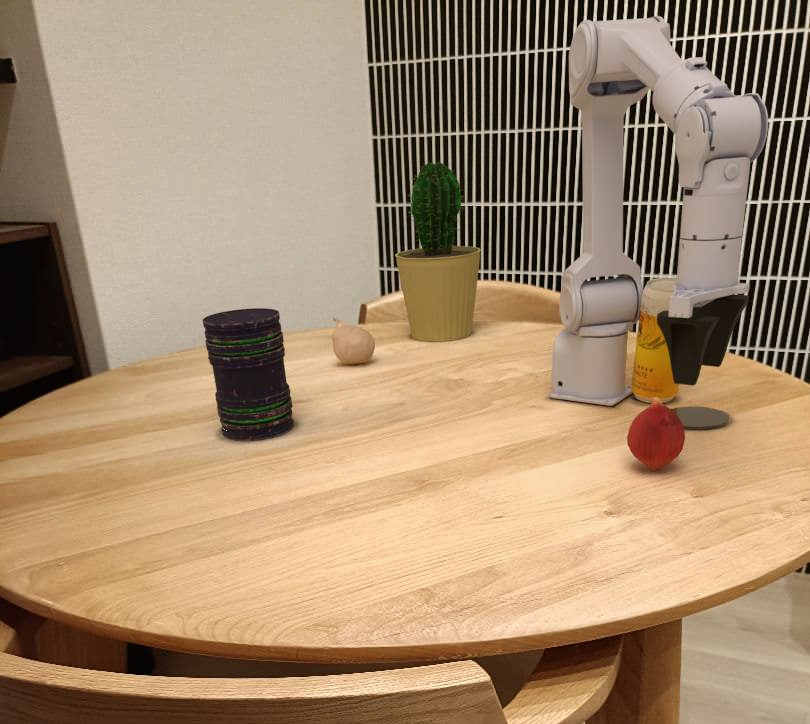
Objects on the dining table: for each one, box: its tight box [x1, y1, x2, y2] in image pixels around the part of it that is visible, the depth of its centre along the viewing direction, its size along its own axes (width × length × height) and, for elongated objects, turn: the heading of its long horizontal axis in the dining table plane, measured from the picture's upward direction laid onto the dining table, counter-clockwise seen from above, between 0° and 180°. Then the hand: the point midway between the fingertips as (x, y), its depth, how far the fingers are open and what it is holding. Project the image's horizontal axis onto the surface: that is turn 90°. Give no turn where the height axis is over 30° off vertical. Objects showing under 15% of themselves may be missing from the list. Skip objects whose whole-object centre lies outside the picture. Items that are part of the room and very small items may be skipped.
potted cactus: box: [394, 159, 482, 342], centre depth 147 cm, size 15×15×30 cm
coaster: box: [670, 405, 731, 431], centre depth 102 cm, size 8×8×1 cm
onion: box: [626, 397, 686, 472], centre depth 86 cm, size 6×6×8 cm
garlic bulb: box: [331, 316, 376, 365], centre depth 136 cm, size 7×6×8 cm
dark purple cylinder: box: [202, 307, 295, 442], centre depth 107 cm, size 10×10×15 cm
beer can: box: [630, 277, 680, 404], centre depth 106 cm, size 6×6×15 cm
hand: (698, 374), depth 86 cm, fingers open, 7 cm apart
